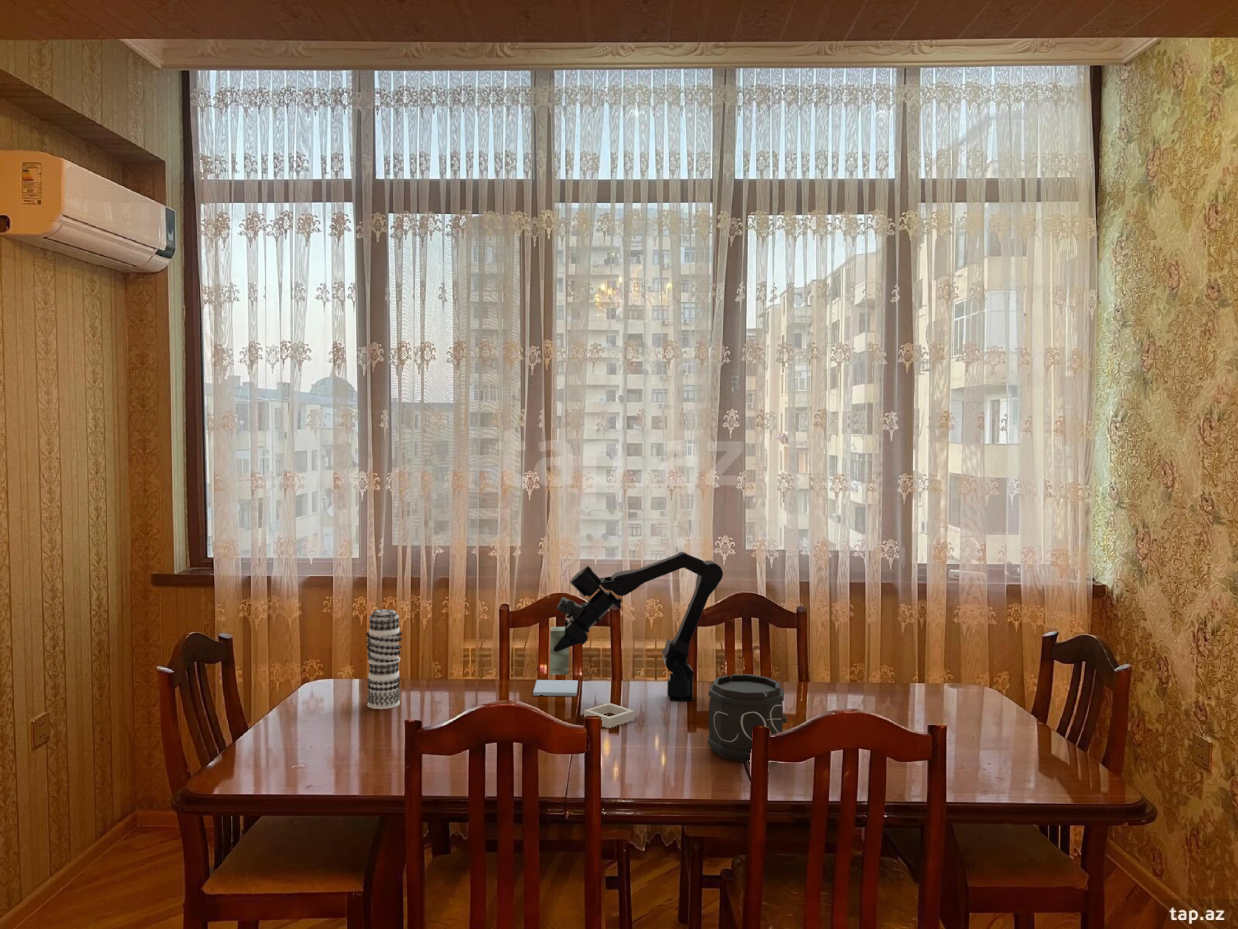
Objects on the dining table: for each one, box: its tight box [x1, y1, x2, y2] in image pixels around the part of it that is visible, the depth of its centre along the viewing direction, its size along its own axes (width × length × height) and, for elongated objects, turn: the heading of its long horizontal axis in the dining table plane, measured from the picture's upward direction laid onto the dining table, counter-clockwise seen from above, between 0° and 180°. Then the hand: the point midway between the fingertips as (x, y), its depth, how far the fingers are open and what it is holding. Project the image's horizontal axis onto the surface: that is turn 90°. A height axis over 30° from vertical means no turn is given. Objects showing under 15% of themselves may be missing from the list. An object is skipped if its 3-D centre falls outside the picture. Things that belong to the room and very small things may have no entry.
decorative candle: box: [365, 608, 403, 710], centre depth 231 cm, size 9×9×25 cm
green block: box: [549, 626, 570, 676], centre depth 238 cm, size 5×5×12 cm
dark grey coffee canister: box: [707, 673, 788, 763], centre depth 201 cm, size 18×18×16 cm
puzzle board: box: [583, 702, 635, 729], centre depth 221 cm, size 9×9×2 cm
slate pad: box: [532, 679, 579, 697], centre depth 247 cm, size 12×12×1 cm
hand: (554, 648), depth 238 cm, fingers closed on green block, 5 cm apart
